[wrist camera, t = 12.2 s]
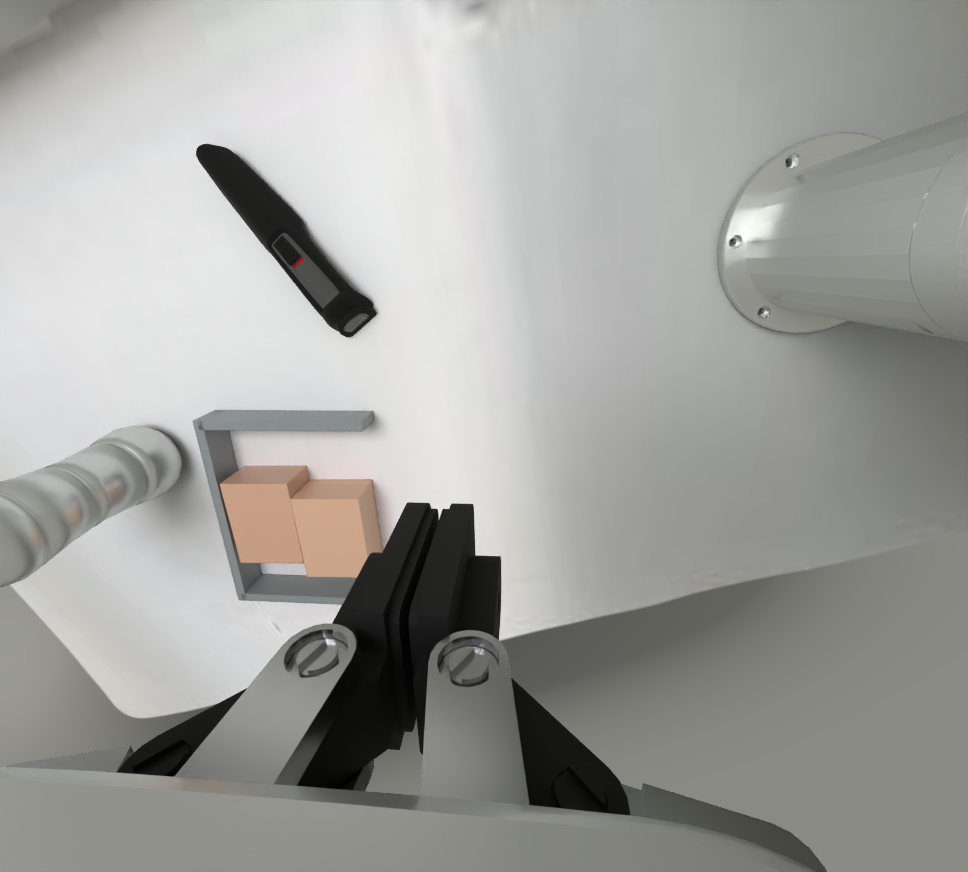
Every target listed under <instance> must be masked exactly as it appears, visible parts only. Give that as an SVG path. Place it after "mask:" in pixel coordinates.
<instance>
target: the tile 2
mask: <svg viewBox="0 0 968 872" xmlns="http://www.w3.org/2000/svg"><path fill="white" fill-rule="evenodd" d="M290 501H291V506H292V510H293V515H294V519H295V524H296V528H297V533H298V537H299V542H300V546H301V551H302V556H303V560H304V565H305V569H306V574H307V577H357V576H358V575H359V573H360V571H361V569H362V567H363V565H364V563H365V561H366V560H367V558H368V556H369V555H370V553H373V552H380V553H383V550H382V543H381V537H380V530H379V523H378V516H377V509H376V502H375V496H374V489H373V482H372V479H342V480H309V481H308V482H307V483H306V484H305V485H304V486H303V487H302V488H301V489H300V490H299V491H298V492H297V493H296V494H295V495H294V496H293V497H292V498H291V499H290Z"/></svg>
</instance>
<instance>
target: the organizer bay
mask: <svg viewBox="0 0 968 872" xmlns="http://www.w3.org/2000/svg"><path fill="white" fill-rule="evenodd" d="M373 420H374V418H373V411H281V410H214V411H212V412H210V413H208V414H206V415H204V416H202V417H200V418H198V419H195V420H193V425H194V429H195V433H196V436H197V440H198V444H199V448H200V452H201V456H202V460H203V464H204V467H205V471H206V475H207V479H208V483H209V487H210V491H211V495H212V499H213V502H214V506H215V510H216V514H217V518H218V522H219V526H220V530H221V533H222V537H223V541H224V545H225V549H226V553H227V557H228V561H229V564H230V568H231V572H232V576H233V580H234V584H235V588H236V592H237V595H238V599H239V600H247V601H270V602H293V603H317V604H340V605H342V604H343V603H344V601H345V599H346V597H347V595H348V593H349V591H350V590H351V588H352V586H353V584H354V582H355V580H356V578H352V577H307V576H299V575H273V574H261V570H260V565H259V563H241V562H240V558H239V554H238V551H237V547H236V543H235V539H234V536H233V532H232V528H231V525H230V521H229V517H228V513H227V510H226V506H225V502H224V499H223V495H222V491H221V487H220V483H222V482H223V481H224V480H226V479H227V478H229V477H230V476H231V475H233V474H234V473H236V472H237V471H238V470H237V465H236V461H235V457H234V452H233V448H232V444H231V439H230V435H229V431H228V430H249V431H349V432H362V431H363V430H364V429H365V428H366V427H367V426H368V425H369V424H370V423H371V422H372V421H373Z"/></svg>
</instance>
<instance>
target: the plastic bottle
mask: <svg viewBox="0 0 968 872" xmlns="http://www.w3.org/2000/svg"><path fill="white" fill-rule="evenodd" d="M181 468H182V459H181V455H180V452H179V450H178V448H177V447H176V445H175V444H174V443H173V441H172V440H171V439H170V438H169V437H167V436H166V435H165V434H163V433H161V432H159V431H157V430H154V429H151V428H148V427H143V426H132V427H127V428H121V429H117V430H114V431H112V432H110V433H109V434H107V435H105V436H103V437H102V438H100V439H98V440H97V441H95V442H94V443H93V444H91V445H90V446H89V447H87V448H85V449H83V450H81V451H79V452H77V453H75V454H74V455H72V456H70V457H68V458H66V459H64V460H62V461H60V462H58V463H55V464H52V465H50V466H47V467H45V468H43V469H39V470H36V471H33V472H30V473H27V474H25V475H22V476H19V477H16V478H13V479H9V480H5V481H1V482H0V587H4V586H6V585H10V584H13V583H16V582H19V581H21V580H23V579H25V578H27V577H28V576H30V575H31V574H32V573H34V572H35V571H37V570H38V569H39V568H40V567H41V566H43V565H44V564H45V563H47V562H48V561H49V560H50V559H52V558H53V557H54V556H55V555H57V554H58V553H59V552H60V551H62V550H63V549H64V548H65V547H66V546H68V545H69V544H70V543H71V542H73V541H74V540H76V539H77V538H79V537H80V536H82V535H83V534H85V533H86V532H88V531H89V530H90V529H91V528H93V527H95V526H97V525H98V524H99V523H101V522H102V521H104V520H105V519H107V518H109V517H112V516H114V515H116V514H118V513H120V512H122V511H124V510H126V509H128V508H130V507H132V506H134V505H137V504H140V503H144V502H147V501H149V500H151V499H153V498H156V497H158V496H160V495H162V494H164V493H165V492H166V491H167V490H168V489H169V488H170V487H172V486H173V485H174V484H175V483H176V482H177V480H178V479H179V477H180V473H181Z"/></svg>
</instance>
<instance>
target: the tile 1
mask: <svg viewBox="0 0 968 872" xmlns="http://www.w3.org/2000/svg"><path fill="white" fill-rule="evenodd" d="M308 481H309V476H308V471H307V466H244V467H242V468H241V469H240V470H238V471H237V472H236V473H234V474H233V475H231V476H230V477H229V478H227V479H226V480H224V481H223V482H222V483H220V487H221V491H222V495H223V499H224V502H225V506H226V510H227V513H228V517H229V521H230V525H231V528H232V532H233V536H234V539H235V543H236V547H237V551H238V554H239V558H240V562H241V563H298V564H304V560H303V556H302V551H301V546H300V542H299V537H298V533H297V528H296V524H295V519H294V515H293V510H292V506H291V501H290V499H291V498H292V497H293V496H294V495H295V494H296V493H297V492H298V491H299V490H300V489H301V488H302V487H303V486H304V485H305V484H306V483H307V482H308Z"/></svg>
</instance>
